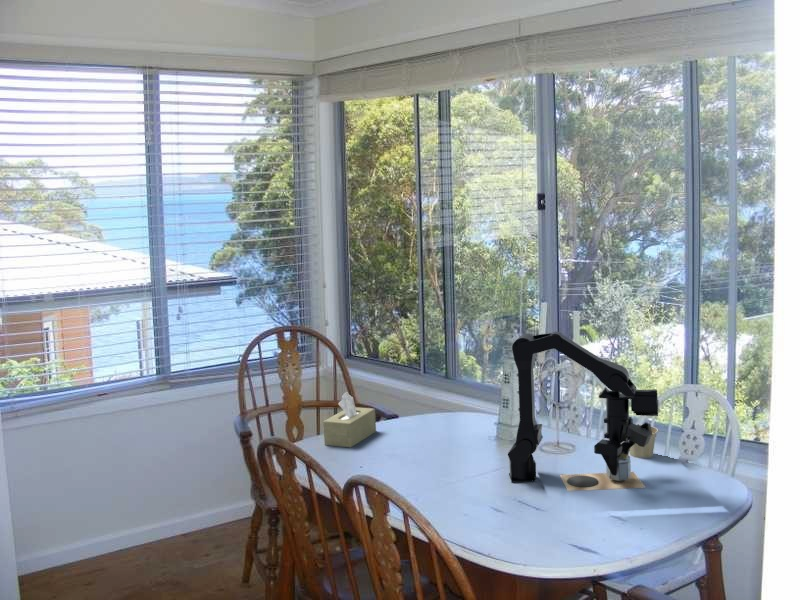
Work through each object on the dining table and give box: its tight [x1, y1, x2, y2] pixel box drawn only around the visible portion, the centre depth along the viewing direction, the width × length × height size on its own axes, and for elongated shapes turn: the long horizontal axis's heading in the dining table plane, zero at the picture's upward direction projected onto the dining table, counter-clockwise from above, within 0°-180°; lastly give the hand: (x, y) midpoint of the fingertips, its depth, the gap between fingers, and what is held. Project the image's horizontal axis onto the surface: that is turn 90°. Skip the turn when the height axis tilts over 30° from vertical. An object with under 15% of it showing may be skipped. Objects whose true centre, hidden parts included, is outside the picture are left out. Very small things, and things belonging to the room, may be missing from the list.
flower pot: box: [629, 424, 659, 459], centre depth 240 cm, size 9×9×9 cm
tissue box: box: [322, 391, 377, 448], centre depth 274 cm, size 19×10×16 cm, turn 155°
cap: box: [605, 454, 632, 481], centre depth 220 cm, size 6×6×6 cm
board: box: [559, 471, 646, 492], centre depth 220 cm, size 20×12×5 cm, turn 89°
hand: (618, 471), depth 220 cm, fingers closed on cap, 6 cm apart
